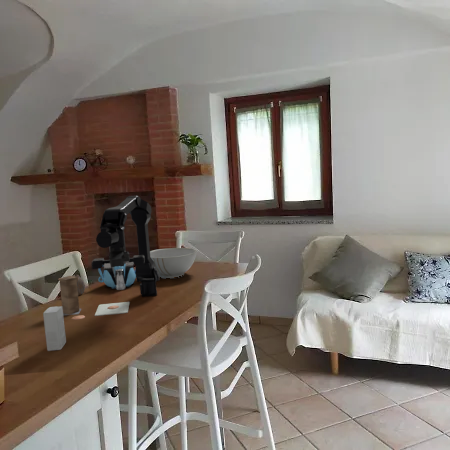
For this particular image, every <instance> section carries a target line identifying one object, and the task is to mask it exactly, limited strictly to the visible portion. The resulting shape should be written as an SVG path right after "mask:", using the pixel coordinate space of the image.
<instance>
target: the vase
mask: <svg viewBox="0 0 450 450" xmlns="http://www.w3.org/2000/svg"><path fill="white" fill-rule="evenodd" d="M72 276H74V277H77V278H78V279H77V289H78V296H81V295H82V294H83V293H84V292H85V291H86V290H85V288H86V284H85V281H84V280H83V279H82V277H81V276H80V275H79V274H73V275H72Z"/></svg>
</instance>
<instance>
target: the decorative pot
mask: <svg viewBox="0 0 450 450" xmlns="http://www.w3.org/2000/svg"><path fill="white" fill-rule="evenodd" d="M125 266H126V264H124V266H121V267H120V266H116V267H114V272H115V270H118V269H124V277H125ZM102 268H104V265H103V266H102V267H101V268H100V269H97V271H98V273H99V275H100V276H99V277H98V280H97V281H98V282H99V283H104V284H105V286H106V287H108V288H109V287H110V288H111V289H113V290H114V289H117V288H116V285H115V284H114V282H113V280H112V277H111V275H110V274H109V272H108V271H107V270H104V269H103V273H102V270H101V269H102ZM135 270H136V268H134V267H133V268H130V271H129V274H128V278H127V282H126V284H125V288H126V287H127V288H128V287H131V285H132V284H134V283H135V281H136V280H137V278H136V274H135Z"/></svg>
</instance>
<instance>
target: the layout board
mask: <svg viewBox="0 0 450 450" xmlns="http://www.w3.org/2000/svg"><path fill="white" fill-rule="evenodd" d="M130 303H131V302H130V301H124V302H113V303H102V304H99V305H98V307H97V309H96V312H95V314H94V316H95V317H97V316H98V317H99V316H106V315H107V316H108V315H119V314H127V313H129V306H130ZM79 310H80V311H79V312H76V313H73V314H70V315H69V314H65V313H63V317H64V316H71V315H72V316H73V315H75V316H73V317H71V320H74V321H77V320H83V319H85V318H86V316H85V315H80V312H81V311H82V308H79Z"/></svg>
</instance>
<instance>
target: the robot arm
mask: <svg viewBox="0 0 450 450" xmlns="http://www.w3.org/2000/svg"><path fill="white" fill-rule="evenodd" d="M152 212H153V211H152V206H151V205H150V203H149V202H148V201H146V200H144V199H143V198H141V197H140V196H139V195H129V196H126V197H125V199H124V200H123V201H121V203H119V204H118V205H117V206H114V207H113V206H112V207H108V208H106V209H105V210H104V212H103V214H102V218H101V221H100V225H99V226H100V227H99V229H100V232H98V234H96V238H95V240H96V244H97V245H98V246H99V247H100V248H103V249H106V248H109V254H108V255H109V256H108V259H104V257H100V258H94V259H93V260H92V261H91V269H92V270H98V269H100V268H101V269H102V268H103V271H104V270H107V271H108V272H109V274H110V275H111V277H112V280H113V282H114V284H115V285H116V277H115V272H114V267H116V266H120V267H121V266H124V264H126V266H125V284H126V282H127V278H128V274H129V271H130V268H133V269H134V266H135V269H136V270H135V269H134V271H135V274H136V281H137V282H140V284H139V291H140V293H139V294H140V295H141V297H142V298H143V297H156V296H158V290H157V282H158V281H160V275H159V273H158V271H157V269H156V268H155V262H154V261H153V260H152V258H151V257H150V251H151V248H150V237H149V236H150V235H149V234H150V233H149V225H148V223H149V222H150V219H151V218H152ZM128 214H129V215H130V216H131V217H130V219H131V220H132V222H133V224H134V225H135V227H136V228H135V229H136V236H137V238H136V239H137V247H138V248H137V249H138V254H137V255H133V257H130V252H129V251H127V250H126V248H127V247H126V239H125V238H126V237H125V229H126V226H125V224H126V221H127V220H128V218H127V217H128ZM103 265H104V266H103ZM102 266H103V267H102Z"/></svg>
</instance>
